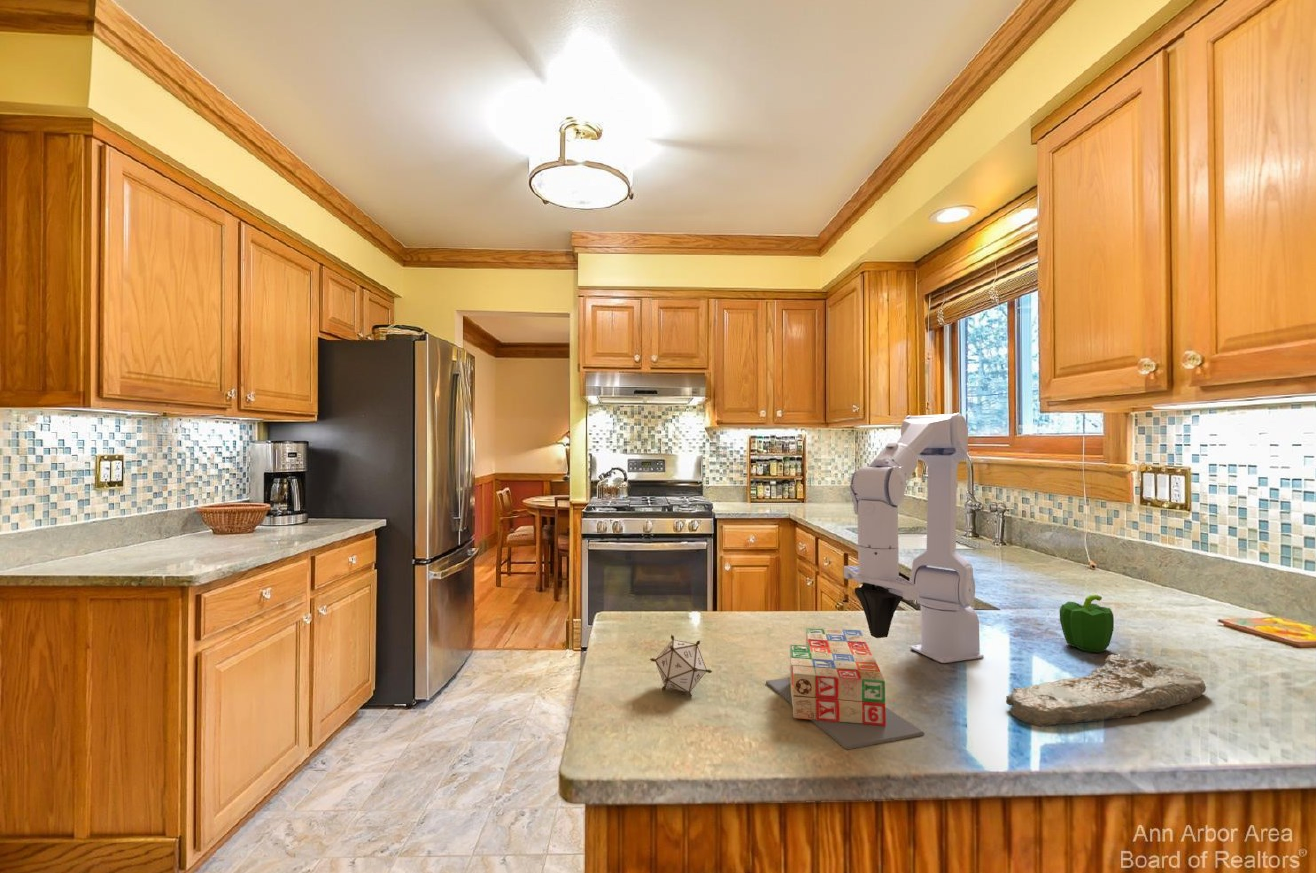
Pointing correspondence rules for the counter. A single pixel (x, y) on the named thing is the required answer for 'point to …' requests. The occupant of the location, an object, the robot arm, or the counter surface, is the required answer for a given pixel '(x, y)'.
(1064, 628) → the bell pepper
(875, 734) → the mat
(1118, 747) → the counter surface
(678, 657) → the game die
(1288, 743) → the counter surface
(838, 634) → the stack of blocks
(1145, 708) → the long grey stone
